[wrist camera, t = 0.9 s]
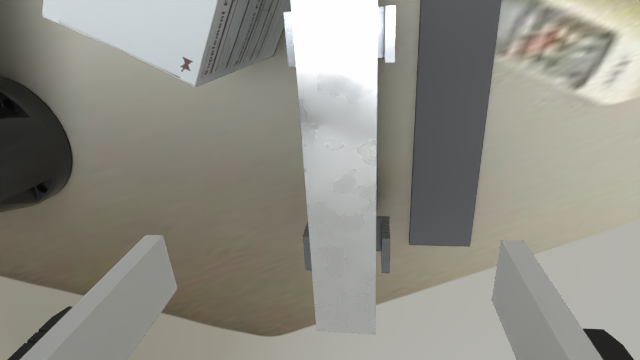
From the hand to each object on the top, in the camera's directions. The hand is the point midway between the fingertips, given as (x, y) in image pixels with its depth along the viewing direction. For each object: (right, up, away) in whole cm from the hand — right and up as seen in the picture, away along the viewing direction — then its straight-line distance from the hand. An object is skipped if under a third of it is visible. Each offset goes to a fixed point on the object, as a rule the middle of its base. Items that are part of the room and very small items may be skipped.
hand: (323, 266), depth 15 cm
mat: (+12, +9, +21) cm, 26 cm away
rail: (+2, +6, +14) cm, 15 cm away
